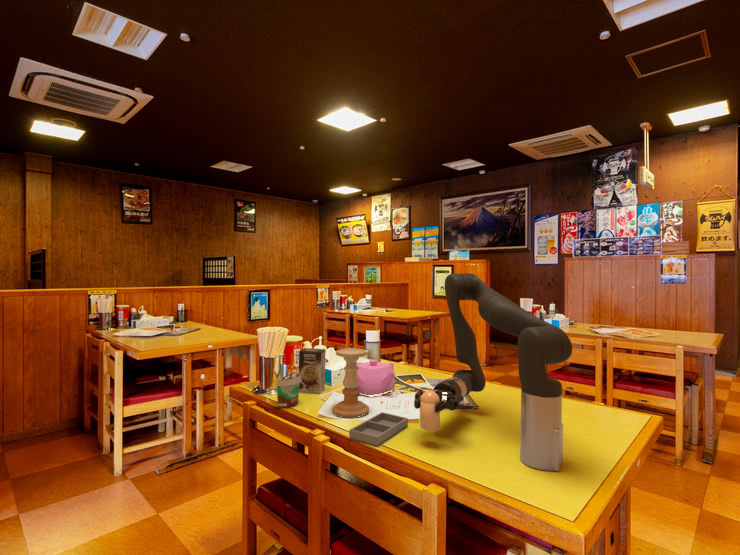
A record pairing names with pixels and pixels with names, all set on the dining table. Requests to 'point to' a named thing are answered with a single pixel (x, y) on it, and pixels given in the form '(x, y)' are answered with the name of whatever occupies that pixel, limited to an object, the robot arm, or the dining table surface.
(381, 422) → the divided tray
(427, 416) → the peach domed shaker
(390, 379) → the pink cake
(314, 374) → the coffee box
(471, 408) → the dining table surface
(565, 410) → the dining table surface
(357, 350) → the candle holder
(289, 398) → the food container
